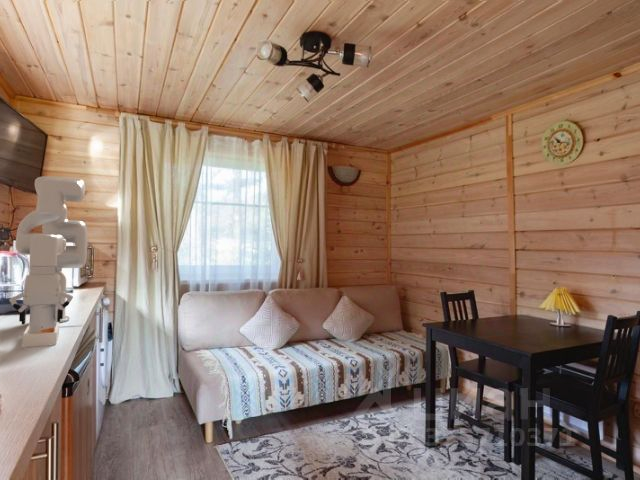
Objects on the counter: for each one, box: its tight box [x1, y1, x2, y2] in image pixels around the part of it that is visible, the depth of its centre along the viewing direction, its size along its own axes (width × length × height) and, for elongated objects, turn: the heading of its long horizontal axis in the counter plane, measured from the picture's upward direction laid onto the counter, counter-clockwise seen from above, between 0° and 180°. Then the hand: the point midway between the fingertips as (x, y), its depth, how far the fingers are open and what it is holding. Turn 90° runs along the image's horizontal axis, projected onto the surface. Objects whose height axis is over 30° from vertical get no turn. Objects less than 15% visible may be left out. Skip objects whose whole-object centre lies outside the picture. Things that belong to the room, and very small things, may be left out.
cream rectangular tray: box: [21, 322, 60, 349], centre depth 135 cm, size 18×9×4 cm, turn 31°
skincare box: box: [28, 305, 56, 334], centre depth 131 cm, size 6×4×12 cm
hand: (41, 322), depth 131 cm, fingers open, 9 cm apart
